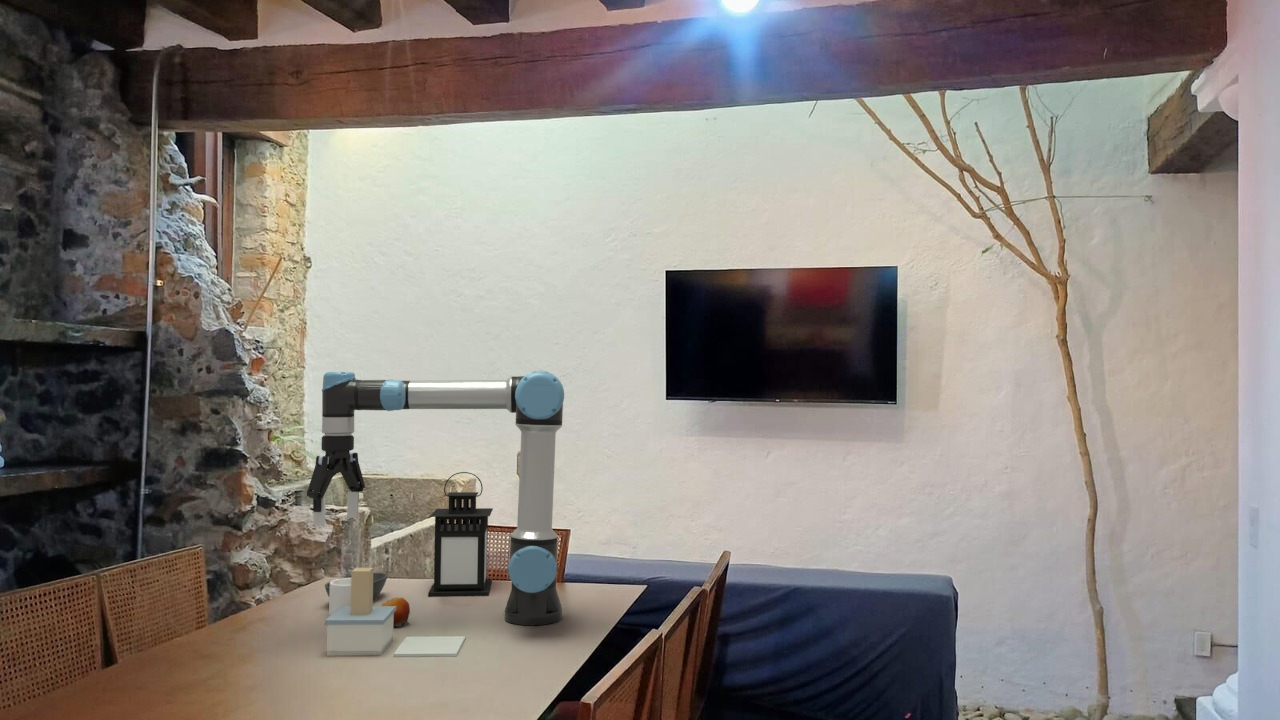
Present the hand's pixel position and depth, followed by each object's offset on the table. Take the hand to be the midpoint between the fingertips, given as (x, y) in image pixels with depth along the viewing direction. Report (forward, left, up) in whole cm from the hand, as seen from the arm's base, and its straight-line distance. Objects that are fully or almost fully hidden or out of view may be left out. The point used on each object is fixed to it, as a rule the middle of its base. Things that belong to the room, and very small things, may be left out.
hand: (336, 521), depth 215 cm
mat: (-25, +11, -27) cm, 39 cm away
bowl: (+4, -34, -28) cm, 44 cm away
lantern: (-23, -49, -28) cm, 61 cm away
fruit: (-12, -9, -28) cm, 32 cm away
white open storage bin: (-9, +11, -27) cm, 31 cm away
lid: (-9, +11, -20) cm, 25 cm away
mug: (+1, -18, -28) cm, 33 cm away
